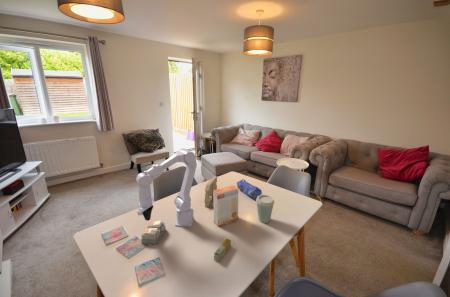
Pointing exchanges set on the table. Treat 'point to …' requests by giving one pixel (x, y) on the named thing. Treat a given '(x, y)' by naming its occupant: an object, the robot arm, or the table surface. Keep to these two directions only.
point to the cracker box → (225, 205)
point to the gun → (210, 190)
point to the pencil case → (249, 189)
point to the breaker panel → (153, 238)
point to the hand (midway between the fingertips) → (147, 219)
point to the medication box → (222, 250)
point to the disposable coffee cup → (264, 207)
